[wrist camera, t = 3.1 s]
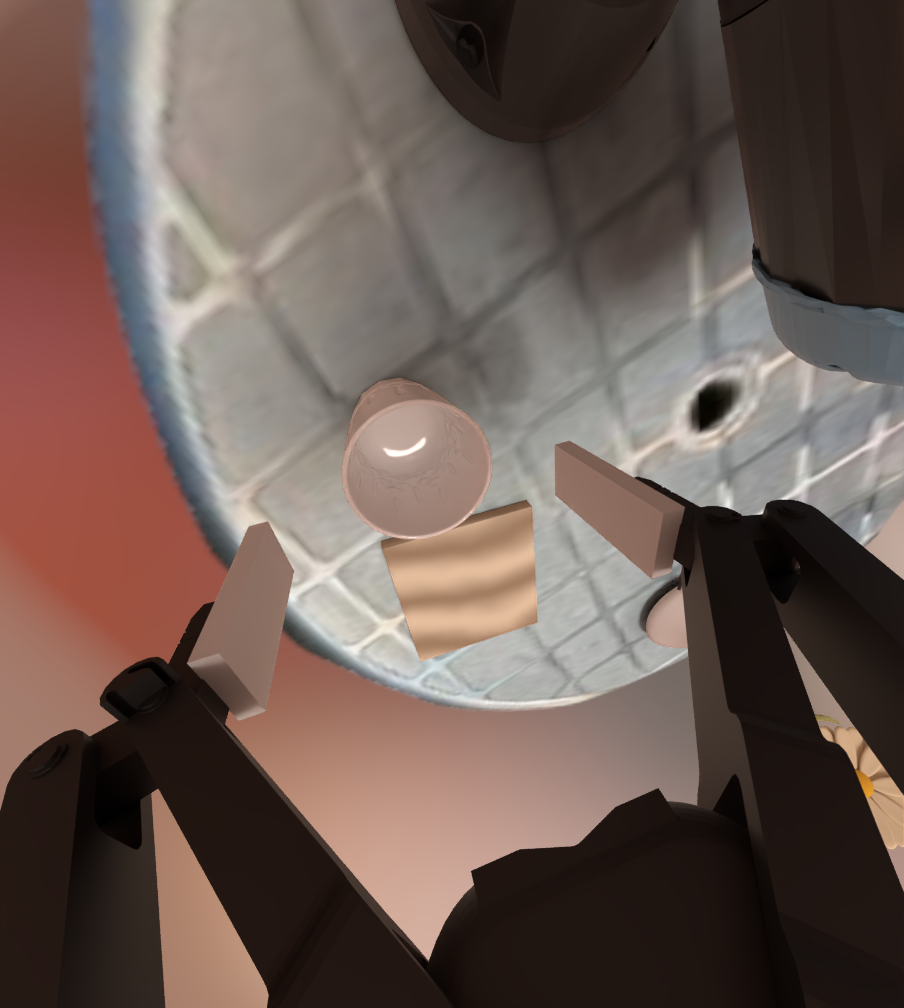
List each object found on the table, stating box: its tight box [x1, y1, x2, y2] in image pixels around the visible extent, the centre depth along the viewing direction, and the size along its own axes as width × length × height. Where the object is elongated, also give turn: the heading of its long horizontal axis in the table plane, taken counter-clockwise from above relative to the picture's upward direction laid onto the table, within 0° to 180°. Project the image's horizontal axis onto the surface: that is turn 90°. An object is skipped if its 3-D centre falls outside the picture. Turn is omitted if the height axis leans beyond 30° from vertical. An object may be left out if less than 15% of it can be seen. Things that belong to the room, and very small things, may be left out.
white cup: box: [342, 378, 492, 539], centre depth 22 cm, size 8×8×10 cm
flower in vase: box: [646, 586, 904, 849], centre depth 37 cm, size 13×11×25 cm
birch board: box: [381, 500, 538, 661], centre depth 36 cm, size 16×14×1 cm
